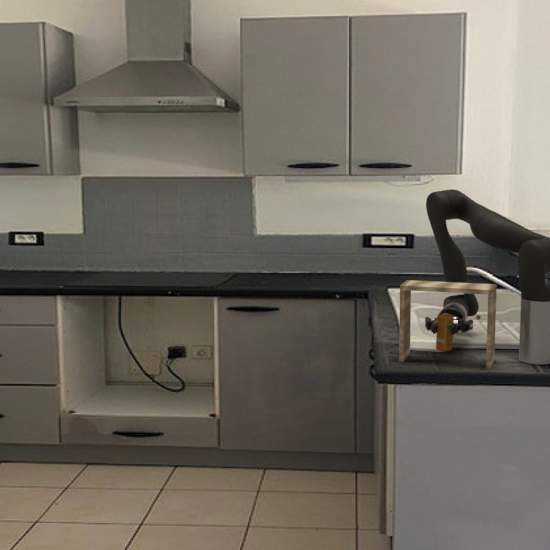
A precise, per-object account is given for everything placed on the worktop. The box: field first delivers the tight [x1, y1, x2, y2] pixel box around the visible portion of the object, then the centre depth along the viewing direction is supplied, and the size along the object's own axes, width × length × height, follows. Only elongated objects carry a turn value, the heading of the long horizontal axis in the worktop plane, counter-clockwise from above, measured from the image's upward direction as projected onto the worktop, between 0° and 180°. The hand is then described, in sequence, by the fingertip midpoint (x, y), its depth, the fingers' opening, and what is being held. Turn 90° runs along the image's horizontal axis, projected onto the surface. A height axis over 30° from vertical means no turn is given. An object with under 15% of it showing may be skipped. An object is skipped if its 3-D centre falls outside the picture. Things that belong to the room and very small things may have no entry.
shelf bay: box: [398, 279, 498, 370], centre depth 225 cm, size 24×9×21 cm, turn 70°
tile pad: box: [410, 342, 445, 353], centre depth 244 cm, size 11×11×1 cm
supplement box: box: [436, 313, 454, 353], centre depth 228 cm, size 3×3×10 cm
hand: (443, 330), depth 226 cm, fingers closed on supplement box, 4 cm apart
